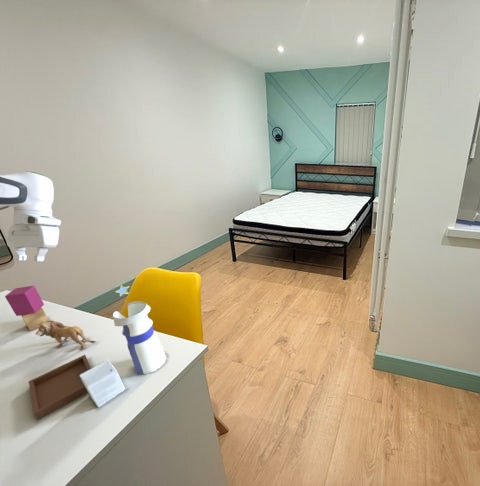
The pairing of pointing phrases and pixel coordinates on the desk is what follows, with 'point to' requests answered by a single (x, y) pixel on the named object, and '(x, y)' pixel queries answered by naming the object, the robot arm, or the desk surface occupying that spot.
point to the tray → (58, 386)
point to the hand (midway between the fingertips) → (30, 260)
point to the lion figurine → (62, 332)
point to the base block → (35, 319)
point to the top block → (24, 300)
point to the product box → (102, 382)
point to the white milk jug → (140, 336)
